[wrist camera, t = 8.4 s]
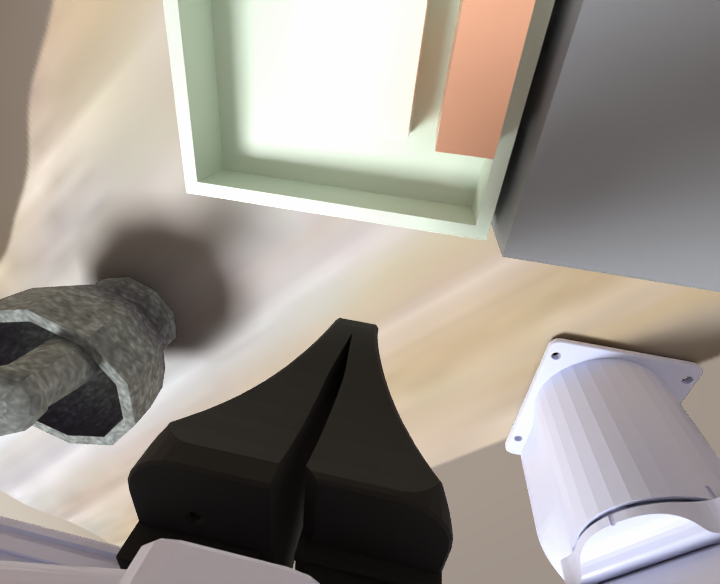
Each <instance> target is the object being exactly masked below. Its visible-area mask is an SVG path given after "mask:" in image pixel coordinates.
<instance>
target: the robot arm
mask: <svg viewBox="0 0 720 584" xmlns="http://www.w3.org/2000/svg"><path fill="white" fill-rule="evenodd" d="M377 335H378V327H377V326H376V325H374V324H369V323H364V322H358V321H353V320H347V319H342V318H339V319H337V320H336V321H335V322H334V323H333V324H332V325H331V327H330V328H329V329H328V330H327V331H326V332H325V333H324V334H323V335H322V336H321V337H320V338H319V339H318V340H317V341H316V342H315V343H314V344H312V345H311V346H310V347H309V348H308V349H307V350H306V351H305V352H304V353H302V354H301V355H300V356H299V357H297V358H296V359H295V360H294V361H292V362H291V363H290V364H289V365H287V366H286V367H285V368H283V369H282V370H281V371H279V372H278V373H276V374H275V375H273V376H272V377H270V378H269V379H267V380H266V381H264V382H262V383H261V384H259V385H257V386H255V387H254V388H252V389H250V390H248V391H247V392H245V393H243V394H241V395H239V396H237V397H235V398H233V399H231V400H228V401H226V402H224V403H222V404H219V405H217V406H215V407H212V408H210V409H207V410H205V411H202V412H199V413H196V414H193V415H191V416H188V417H185V418H182V419H179V420H176V421H173V422H170V423H169V425H168V426H167V427H166V428H165V429H164V430H163V431H162V432H161V433H160V434H159V435H158V436H157V438H156V439H155V440H154V441H153V442H152V443H151V445H150V446H149V447H148V449H147V450H146V451H145V453H144V454H143V455H142V457H141V458H140V459H139V460H138V462H137V463H136V464H135V466H134V467H133V468H132V470H131V471H130V474H129V477H128V484H129V491H130V494H131V497H132V500H133V503H134V506H135V509H136V512H137V516H138V519H139V522H138V523H137V525H136V526H135V528H134V529H133V531H132V532H131V534H130V536H129V537H128V539H127V540H126V542H125V543H124V545H123V546H122V547H119V546H115V545H111V544H107V543H103V542H99V541H95V540H92V539H88V538H84V537H80V536H76V535H72V534H69V533H65V532H60V531H57V530H53V529H49V528H45V527H41V526H37V525H33V524H29V523H25V522H22V521H18V520H14V519H10V518H6V517H2V516H0V584H442V570H443V567H444V565H445V562H446V560H447V558H448V555H449V553H450V550H451V547H452V541H453V533H452V524H451V518H450V512H449V508H448V504H447V500H446V496H445V492H444V489H443V486H442V483H441V481H440V480H439V479H438V477H437V476H436V475H435V474H434V472H433V471H432V469H431V468H430V467H429V465H428V464H427V462H426V461H425V459H424V458H423V456H422V455H421V453H420V452H419V450H418V449H417V447H416V445H415V444H414V442H413V440H412V438H411V437H410V435H409V433H408V431H407V429H406V428H405V426H404V424H403V422H402V420H401V418H400V416H399V414H398V411H397V409H396V407H395V405H394V402H393V400H392V397H391V395H390V392H389V389H388V386H387V383H386V380H385V376H384V373H383V369H382V365H381V360H380V355H379V349H378V339H377ZM555 352H558V353H559V354H557V355H552V354H553V353H555ZM702 372H703V371H702V368H700V366H699V365H698V364H697V363H694V362H689V361H684V360H678V359H673V358H667V357H661V356H656V355H650V354H645V353H639V352H634V351H628V350H623V349H617V348H612V347H606V346H600V345H595V344H589V343H584V342H578V341H573V340H567V339H562V338H556V339H553V340H552V341H550V343H549V344H548V347H547V349H546V351H545V353H544V356H543V358H542V360H541V363H540V365H539V367H538V369H537V372H536V374H535V376H534V379H533V381H532V383H531V385H530V388H529V390H528V392H527V395H526V397H525V399H524V401H523V404H522V406H521V408H520V411H519V413H518V415H517V417H516V420H515V422H514V424H513V427H512V429H511V431H510V433H509V436H508V438H507V440H506V443H505V446H506V450H507V451H508V452H510V453H514V454H519V455H521V459H522V464H523V468H524V473H525V478H526V483H527V487H528V492H529V497H530V502H531V506H532V511H533V516H534V520H535V525H536V530H537V535H538V538H539V541H540V544H541V546H542V549H543V550H544V553H545V554H546V556H547V557H548V559H549V561H550V562H551V564H552V565H553V567H554V568H555V569H556V571H557V572H558V573H559V574H560V575H561V577H562V578H563V579H564V580H565V584H720V459H719V457H718V456H717V455H716V453H715V452H714V450H713V449H712V447H711V446H710V445H709V443H708V442H707V441H706V439H705V438H704V436H703V435H702V434H701V432H700V431H699V429H698V428H697V427H696V425H695V424H694V423H693V421H692V420H691V418H690V417H689V416H688V414H687V413H686V411H685V410H684V409H683V408H682V406H681V402H682V401H683V399H684V398H685V397H686V396H687V394H688V393H689V391H690V390H691V388H692V387H693V386H694V384H695V383H696V382H697V380H698V379H699V378H700V376H701V374H702ZM685 377H687V378H686V379H683V378H685ZM516 436H519V437H516ZM294 560H295V561H296V564H295V570H294V569H292V568H293V564H294Z"/></svg>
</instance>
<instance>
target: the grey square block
mask: <svg viewBox="0 0 720 584" xmlns="http://www.w3.org/2000/svg"><path fill="white" fill-rule="evenodd" d="M491 224H492V227H493V230H494V233H495V236H496V239H497V242H498V245H499V248H500V251H501V254H502V257H508V258H514V259H520V260H526V261H533V262H539V263H545V264H551V265H557V266H563V267H569V268H575V269H582V270H588V271H594V272H600V273H606V274H612V275H618V276H625V277H631V278H637V279H643V280H649V281H655V282H661V283H667V284H674V285H680V286H686V287H692V288H698V289H704V290H710V291H717V292H720V0H555V2H554V6H553V9H552V13H551V16H550V20H549V23H548V27H547V30H546V34H545V37H544V41H543V44H542V48H541V51H540V55H539V58H538V62H537V65H536V69H535V72H534V75H533V79H532V82H531V86H530V89H529V93H528V96H527V100H526V103H525V107H524V110H523V114H522V117H521V121H520V124H519V128H518V131H517V135H516V138H515V142H514V145H513V149H512V152H511V156H510V159H509V163H508V166H507V170H506V173H505V177H504V180H503V184H502V187H501V191H500V194H499V198H498V201H497V204H496V208H495V211H494V215H493V218H492V222H491Z"/></svg>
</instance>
